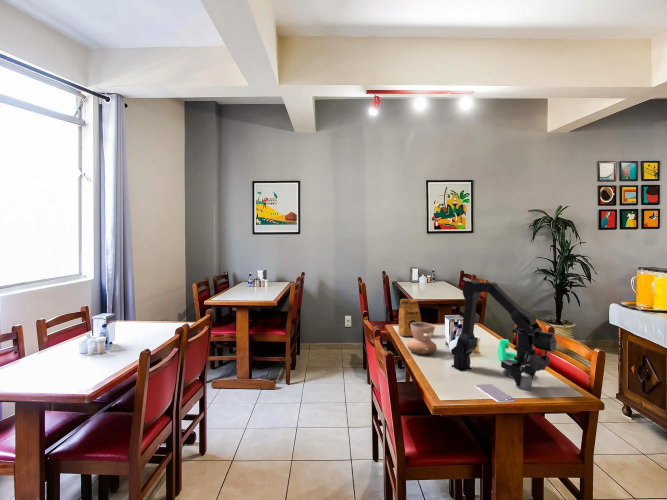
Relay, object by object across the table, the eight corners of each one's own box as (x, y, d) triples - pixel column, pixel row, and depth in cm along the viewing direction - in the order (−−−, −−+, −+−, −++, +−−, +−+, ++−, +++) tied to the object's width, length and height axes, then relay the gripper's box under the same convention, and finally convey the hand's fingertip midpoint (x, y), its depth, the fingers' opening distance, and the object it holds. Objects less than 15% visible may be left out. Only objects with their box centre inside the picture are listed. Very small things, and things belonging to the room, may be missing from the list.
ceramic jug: (440, 357, 182) (441, 328, 181) (411, 357, 182) (412, 328, 181) (430, 347, 200) (431, 321, 199) (403, 346, 200) (404, 320, 199)
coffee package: (422, 337, 218) (423, 300, 217) (401, 337, 217) (402, 300, 216) (416, 333, 228) (417, 297, 227) (397, 333, 226) (397, 297, 226)
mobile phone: (491, 383, 149) (516, 399, 135) (491, 385, 149) (516, 402, 135) (473, 384, 148) (497, 400, 133) (473, 386, 148) (497, 403, 133)
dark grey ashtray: (518, 381, 153) (518, 374, 153) (497, 372, 163) (497, 366, 163) (537, 377, 157) (538, 371, 157) (516, 368, 167) (516, 363, 167)
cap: (524, 391, 143) (524, 377, 143) (512, 385, 148) (513, 373, 148) (534, 389, 145) (535, 376, 145) (522, 384, 150) (523, 371, 150)
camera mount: (520, 366, 172) (521, 343, 172) (502, 364, 174) (503, 342, 173) (514, 357, 184) (514, 337, 183) (497, 356, 186) (498, 335, 185)
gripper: (524, 354, 135) (523, 396, 136) (561, 349, 142) (559, 389, 143) (500, 345, 145) (499, 385, 146) (535, 341, 153) (534, 379, 153)
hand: (523, 384), depth 147 cm, fingers closed on cap, 5 cm apart
